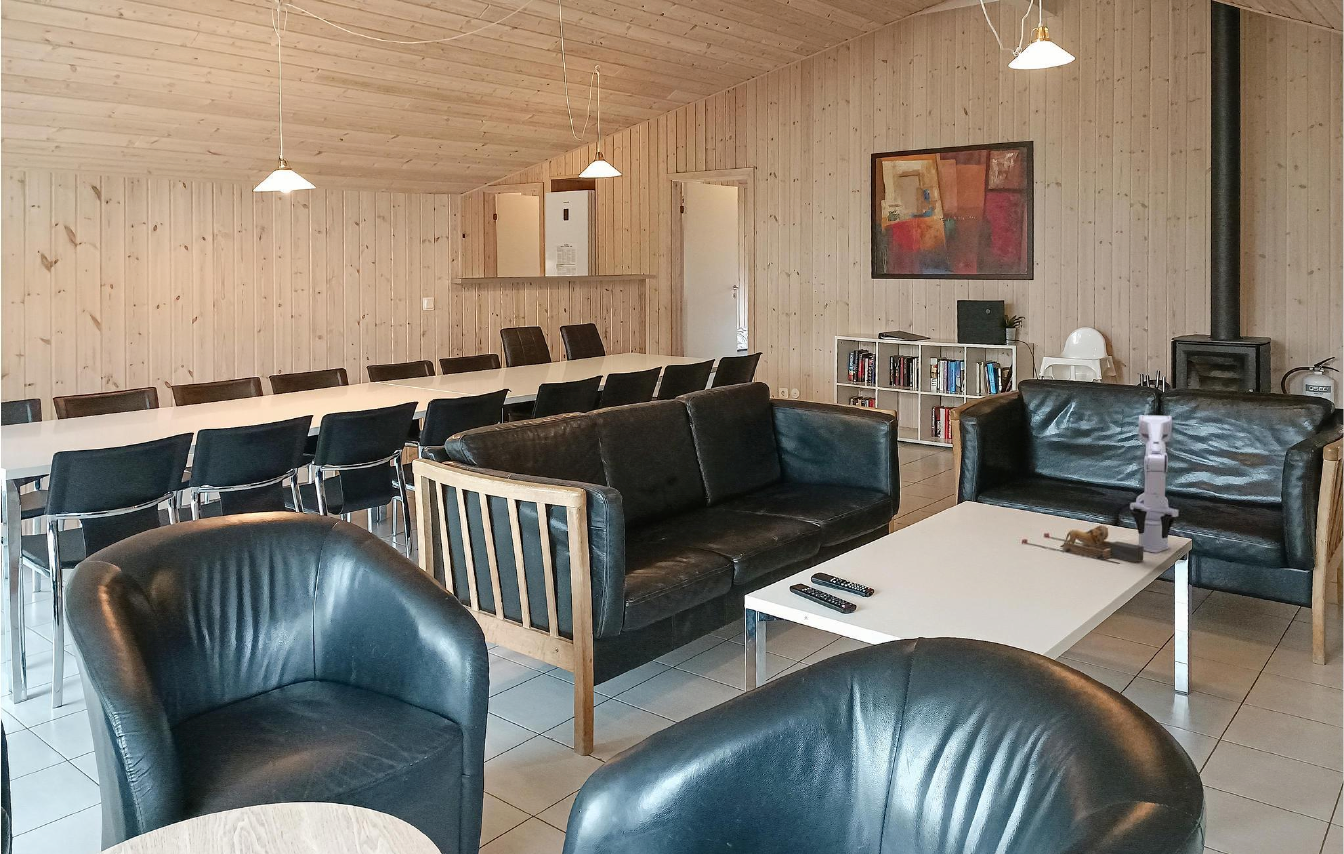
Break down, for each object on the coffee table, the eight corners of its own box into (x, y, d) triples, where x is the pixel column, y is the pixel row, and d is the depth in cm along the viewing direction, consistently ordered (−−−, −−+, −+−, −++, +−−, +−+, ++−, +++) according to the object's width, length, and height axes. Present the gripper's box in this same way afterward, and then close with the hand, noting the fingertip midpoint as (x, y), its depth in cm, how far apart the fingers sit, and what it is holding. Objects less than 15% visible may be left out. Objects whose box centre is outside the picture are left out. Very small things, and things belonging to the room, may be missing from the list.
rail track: (1046, 536, 367) (1046, 532, 367) (1142, 556, 339) (1142, 552, 339) (1021, 543, 359) (1022, 539, 359) (1118, 564, 331) (1118, 560, 331)
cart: (1085, 543, 355) (1085, 530, 354) (1150, 557, 337) (1151, 543, 336) (1062, 550, 347) (1062, 537, 346) (1128, 564, 329) (1128, 551, 328)
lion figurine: (1108, 550, 347) (1109, 524, 346) (1107, 554, 342) (1108, 527, 341) (1060, 546, 353) (1061, 520, 352) (1058, 550, 348) (1059, 523, 347)
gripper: (1125, 490, 329) (1123, 533, 331) (1170, 498, 318) (1168, 542, 320) (1137, 487, 334) (1136, 529, 335) (1182, 494, 322) (1180, 538, 324)
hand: (1152, 535), depth 328 cm, fingers open, 7 cm apart
